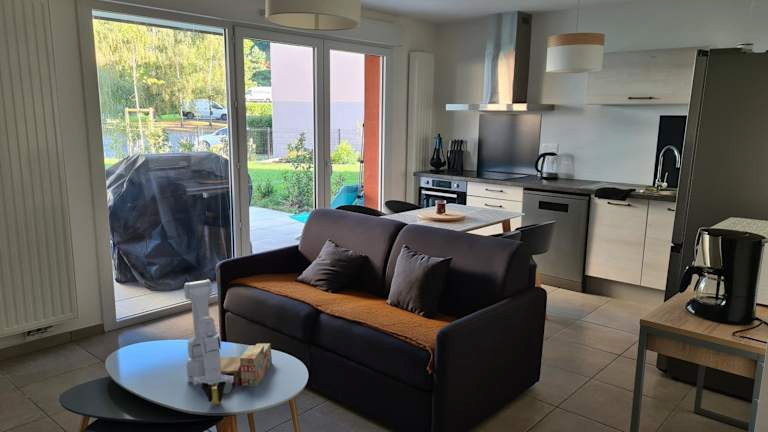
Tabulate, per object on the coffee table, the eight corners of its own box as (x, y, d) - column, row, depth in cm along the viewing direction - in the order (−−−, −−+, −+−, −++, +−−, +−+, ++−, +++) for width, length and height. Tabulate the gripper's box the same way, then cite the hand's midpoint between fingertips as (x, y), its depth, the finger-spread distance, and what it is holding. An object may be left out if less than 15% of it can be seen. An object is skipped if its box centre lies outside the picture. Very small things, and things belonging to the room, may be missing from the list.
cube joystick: (208, 405, 201) (207, 390, 200) (220, 387, 215) (218, 373, 214) (222, 404, 201) (220, 390, 200) (232, 387, 215) (231, 373, 214)
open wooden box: (211, 387, 215) (210, 371, 214) (220, 373, 228) (218, 357, 227) (238, 386, 215) (237, 370, 214) (246, 372, 228) (244, 356, 227)
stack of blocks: (258, 363, 237) (256, 336, 235) (272, 363, 237) (270, 336, 235) (241, 386, 216) (239, 357, 214) (256, 386, 216) (254, 357, 214)
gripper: (189, 372, 195) (192, 406, 197) (229, 370, 196) (232, 405, 198) (195, 363, 202) (198, 397, 204) (234, 362, 203) (236, 395, 205)
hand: (215, 400), depth 202 cm, fingers closed on cube joystick, 3 cm apart
